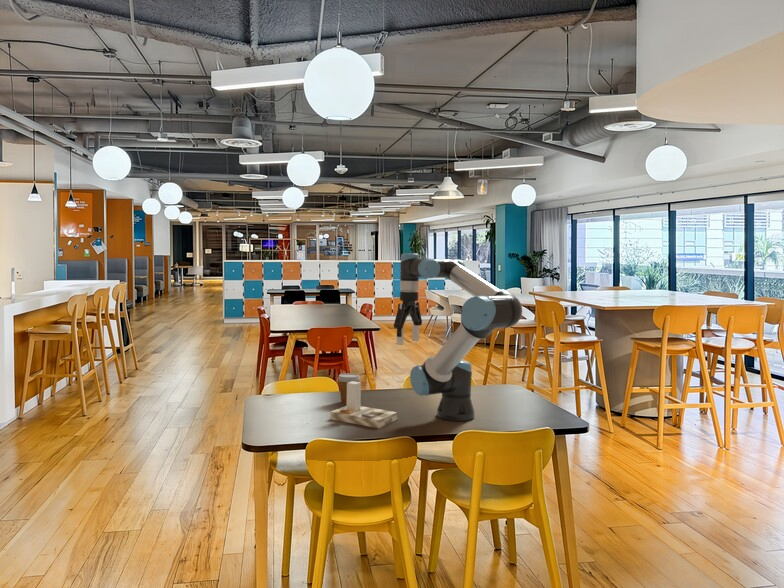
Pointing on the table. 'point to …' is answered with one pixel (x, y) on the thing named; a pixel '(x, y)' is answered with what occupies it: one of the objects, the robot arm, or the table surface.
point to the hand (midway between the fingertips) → (407, 342)
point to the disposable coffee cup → (343, 384)
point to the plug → (353, 396)
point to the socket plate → (365, 416)
